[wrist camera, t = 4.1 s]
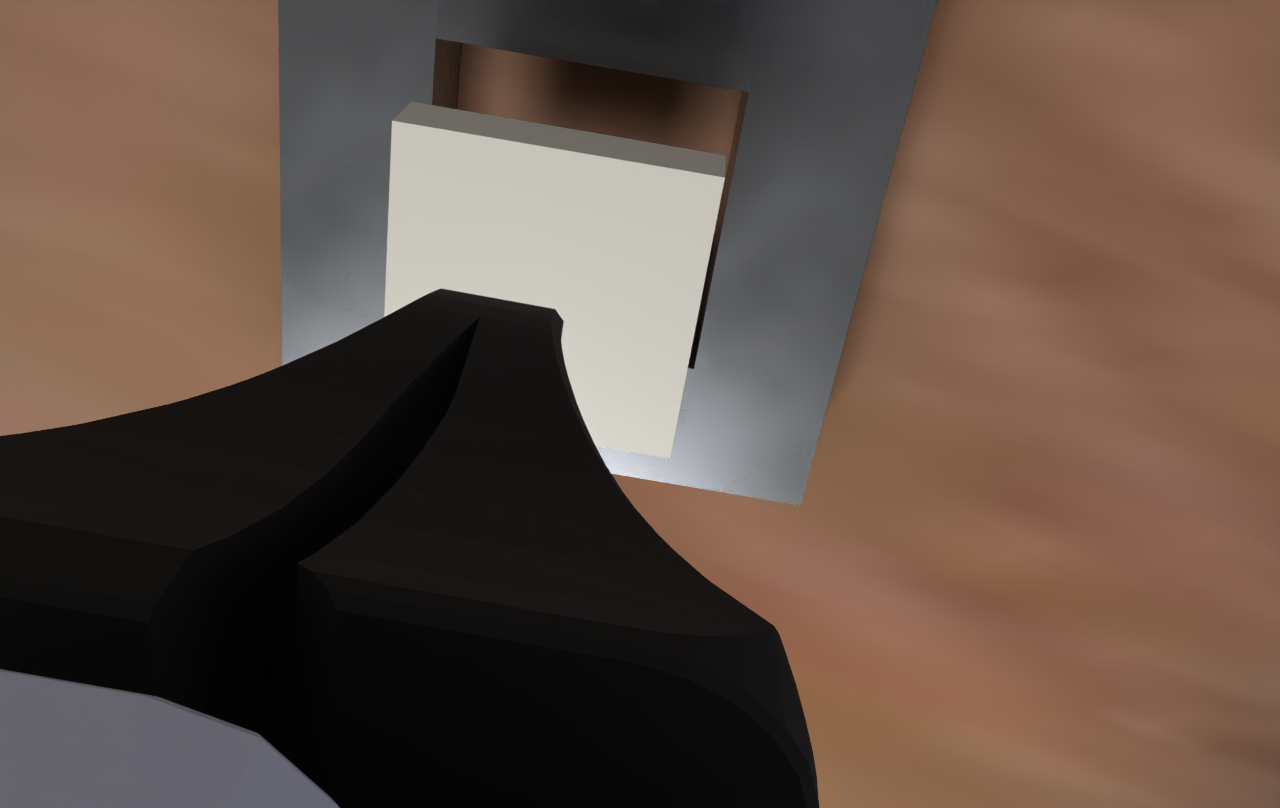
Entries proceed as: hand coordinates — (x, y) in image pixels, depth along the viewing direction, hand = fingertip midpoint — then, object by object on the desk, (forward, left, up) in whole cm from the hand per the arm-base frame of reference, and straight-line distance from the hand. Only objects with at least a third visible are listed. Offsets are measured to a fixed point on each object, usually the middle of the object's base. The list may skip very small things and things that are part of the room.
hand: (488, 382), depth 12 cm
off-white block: (0, +1, -7) cm, 7 cm away
